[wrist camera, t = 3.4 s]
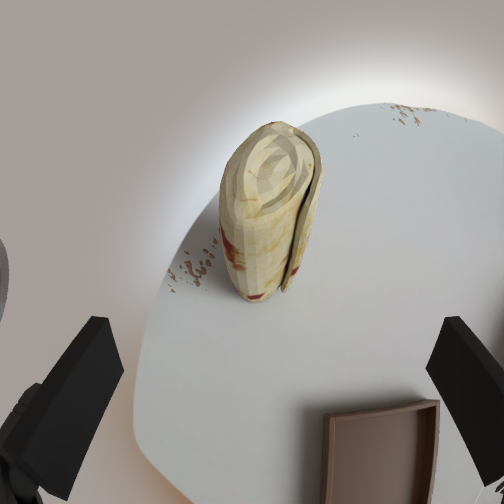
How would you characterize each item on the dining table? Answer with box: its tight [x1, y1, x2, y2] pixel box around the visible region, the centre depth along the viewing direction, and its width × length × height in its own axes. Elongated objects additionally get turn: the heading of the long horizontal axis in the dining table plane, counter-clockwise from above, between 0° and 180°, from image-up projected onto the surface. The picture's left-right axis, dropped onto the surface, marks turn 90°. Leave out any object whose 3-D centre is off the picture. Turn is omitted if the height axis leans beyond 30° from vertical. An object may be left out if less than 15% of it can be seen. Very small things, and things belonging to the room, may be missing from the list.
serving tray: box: [319, 399, 440, 504], centre depth 24 cm, size 13×16×3 cm
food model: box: [219, 121, 323, 303], centre depth 26 cm, size 10×7×20 cm
